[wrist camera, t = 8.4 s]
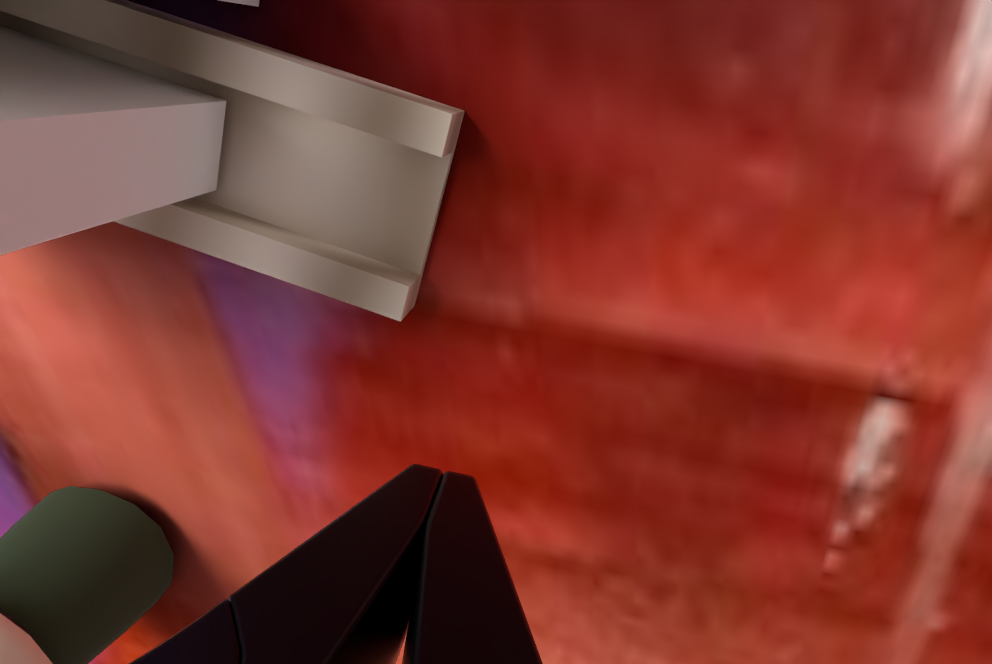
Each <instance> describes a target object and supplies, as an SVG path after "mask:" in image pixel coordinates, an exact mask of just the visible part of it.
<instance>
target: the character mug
mask: <svg viewBox="0 0 992 664" xmlns="http://www.w3.org/2000/svg"><path fill="white" fill-rule="evenodd" d="M173 563H174V554H173V552H172V550H171V548H170V546H169V544H168V541H167V539H166V537H165V535H164V533H163V531H162V528H161V527H160V526H159V525H158V524H156V523H155V522H154V521H153V520H152V519H151V518H150V517H148V516H147V515H146V514H145V513H144V512H143V511H141V510H140V509H139V508H138V507H137V506H136V505H135V504H133V503H130V502H128V501H126V500H123V499H121V498H119V497H116V496H114V495H112V494H109V493H107V492H105V491H102V490H98V489H89V488H81V487H72V486H69V487H66V488H63V489H59V490H56V491H53V492H51V493H50V494H48V495H47V496H46V497H45V498H44V499H43V500H42V501H40V502H39V503H38V504H37V505H36V506H35V507H34V508H32V509H31V510H30V511H29V512H28V513H27V514H26V515H24V516H23V517H22V518H21V519H20V520H19V521H18V522H16V523H15V524H14V525H13V526H12V527H11V528H10V529H9V530H8V531H7V532H6V533H5V534H4V535H3V536H2V537H1V538H0V664H88V663H89V662H90V661H92V660H93V659H94V658H95V657H96V656H97V655H99V654H100V653H101V652H102V651H103V650H104V649H106V648H107V647H108V646H109V645H110V644H112V643H113V642H114V641H115V640H116V639H117V638H119V637H120V636H121V635H122V634H123V633H124V632H126V631H127V630H128V629H129V628H130V627H131V626H132V625H133V624H134V623H135V622H136V621H137V620H139V619H140V618H141V617H142V616H143V615H144V614H145V613H146V612H147V611H148V610H149V609H150V608H151V607H152V606H154V605H155V604H156V603H157V601H158V600H159V599H160V597H161V596H162V595H163V594H164V592H165V591H166V590H167V588H168V587H169V586H170V585H171V583H172V574H173Z"/></svg>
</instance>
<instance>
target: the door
mask: <svg viewBox="0 0 992 664" xmlns="http://www.w3.org/2000/svg"><path fill="white" fill-rule="evenodd" d="M225 110H226V101H225V100H222V99H219V98H216V97H213V96H210V95H207V94H204V93H201V92H198V91H195V90H192V89H189V88H186V87H183V86H180V85H177V84H174V83H171V82H168V81H165V80H162V79H159V78H156V77H153V76H150V75H147V74H144V73H142V72H139V71H136V70H133V69H130V68H127V67H124V66H121V65H118V64H115V63H112V62H109V61H106V60H103V59H100V58H97V57H94V56H91V55H88V54H85V53H82V52H79V51H76V50H73V49H70V48H67V47H64V46H61V45H58V44H55V43H52V42H49V41H46V40H43V39H40V38H37V37H34V36H31V35H28V34H25V33H22V32H19V31H16V30H13V29H10V28H7V27H4V26H1V25H0V255H3V254H6V253H10V252H13V251H16V250H20V249H23V248H26V247H29V246H33V245H36V244H39V243H43V242H46V241H49V240H53V239H56V238H59V237H63V236H66V235H69V234H73V233H76V232H79V231H83V230H86V229H89V228H92V227H96V226H99V225H102V224H106V223H109V222H112V221H116V220H119V219H122V218H126V217H129V216H132V215H136V214H139V213H142V212H145V211H149V210H152V209H155V208H159V207H162V206H165V205H169V204H172V203H175V202H179V201H182V200H185V199H189V198H192V197H195V196H199V195H202V194H205V193H208V192H212V191H215V190H216V188H217V179H218V171H219V162H220V153H221V144H222V136H223V127H224V118H225Z"/></svg>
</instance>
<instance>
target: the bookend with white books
mask: <svg viewBox="0 0 992 664" xmlns="http://www.w3.org/2000/svg"><path fill="white" fill-rule="evenodd" d="M219 1H225V2H231V3H238V4H244V5H250V6H257V7H259V0H219ZM0 25H1V26H4V27H7V28H10V29H13V30H16V31H19V32H22V33H25V34H28V35H31V36H34V37H37V38H40V39H43V40H46V41H49V42H52V43H55V44H58V45H61V46H64V47H67V48H70V49H73V50H76V51H79V52H82V53H85V54H88V55H91V56H94V57H97V58H100V59H103V60H106V61H109V62H112V63H115V64H118V65H121V66H124V67H127V68H130V69H133V70H136V71H139V72H142V73H144V74H147V75H150V76H153V77H156V78H159V79H162V80H165V81H168V82H171V83H174V84H177V85H180V86H183V87H186V88H189V89H192V90H195V91H198V92H201V93H204V94H207V95H210V96H213V97H216V98H219V99H222V100H225V101H226V110H225V118H224V127H223V136H222V144H221V153H220V162H219V171H218V179H217V188H216V190H215V191H212V192H208V193H205V194H202V195H199V196H195V197H192V198H189V199H185V200H182V201H179V202H175V203H172V204H169V205H165V206H162V207H159V208H155V209H152V210H149V211H145V212H142V213H139V214H136V215H132V216H129V217H126V218H122V219H119V220H116V221H113V222H116V223H119V224H122V225H125V226H128V227H131V228H133V229H136V230H139V231H142V232H145V233H148V234H151V235H153V236H156V237H159V238H162V239H165V240H168V241H171V242H174V243H176V244H179V245H182V246H185V247H188V248H191V249H194V250H197V251H199V252H202V253H205V254H208V255H211V256H214V257H217V258H219V259H222V260H225V261H228V262H231V263H234V264H237V265H240V266H242V267H245V268H248V269H251V270H254V271H257V272H260V273H262V274H265V275H268V276H271V277H274V278H277V279H280V280H283V281H285V282H288V283H291V284H294V285H297V286H300V287H303V288H306V289H308V290H311V291H314V292H317V293H320V294H323V295H326V296H328V297H331V298H334V299H337V300H340V301H343V302H346V303H349V304H351V305H354V306H357V307H360V308H363V309H366V310H369V311H371V312H374V313H377V314H380V315H383V316H386V317H389V318H392V319H394V320H397V321H400V322H401V321H402V319H403V318H404V317H405V316H406V315H407V314H408V313H409V312H410V310H411V309H412V308H413V307H414V306H415V303H416V299H417V295H418V291H419V287H420V283H421V279H422V276H423V272H424V268H425V264H426V260H427V256H428V252H429V248H430V244H431V241H432V237H433V233H434V229H435V225H436V221H437V217H438V213H439V210H440V206H441V202H442V198H443V194H444V190H445V186H446V182H447V178H448V175H449V171H450V167H451V163H452V159H453V155H454V151H455V147H456V144H457V140H458V136H459V132H460V128H461V124H462V120H463V116H464V113H465V111H464V110H461V109H458V108H455V107H452V106H449V105H446V104H443V103H439V102H436V101H433V100H430V99H427V98H424V97H421V96H418V95H415V94H412V93H409V92H406V91H403V90H400V89H397V88H394V87H391V86H388V85H384V84H381V83H378V82H375V81H372V80H369V79H366V78H363V77H360V76H357V75H354V74H351V73H348V72H345V71H342V70H339V69H336V68H332V67H329V66H326V65H323V64H320V63H317V62H314V61H311V60H308V59H305V58H302V57H299V56H296V55H293V54H290V53H287V52H284V51H281V50H277V49H274V48H271V47H268V46H265V45H262V44H259V43H256V42H253V41H250V40H247V39H244V38H241V37H238V36H235V35H232V34H229V33H226V32H222V31H219V30H216V29H213V28H210V27H207V26H204V25H201V24H198V23H195V22H192V21H189V20H186V19H183V18H180V17H177V16H174V15H171V14H167V13H164V12H161V11H158V10H155V9H152V8H149V7H146V6H143V5H140V4H137V3H134V2H131V1H128V0H0Z"/></svg>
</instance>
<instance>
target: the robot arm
mask: <svg viewBox="0 0 992 664" xmlns="http://www.w3.org/2000/svg"><path fill="white" fill-rule="evenodd" d="M407 629H408V630H407ZM406 632H407V636H406ZM405 636H406V642H405V648H404V654H403V660H402V664H543V663H542V661H541V658H540V655H539V652H538V650H537V647H536V644H535V641H534V639H533V636H532V633H531V630H530V628H529V625H528V622H527V619H526V617H525V614H524V611H523V608H522V606H521V603H520V600H519V597H518V595H517V592H516V589H515V586H514V583H513V581H512V578H511V575H510V572H509V570H508V567H507V564H506V561H505V559H504V556H503V553H502V550H501V548H500V545H499V542H498V539H497V537H496V534H495V531H494V528H493V526H492V523H491V520H490V517H489V514H488V512H487V509H486V506H485V503H484V501H483V498H482V495H481V492H480V490H479V487H478V484H477V482H476V479H475V478H474V477H473V476H469V475H465V474H460V473H455V472H451V471H448V472H445V473H444V474H443V473H442V471H441V470H440V469H437V468H432V467H427V466H423V465H418V464H414V465H411V466H409V467H408V468H407V469H405V470H404V471H402V472H401V473H400V474H398V475H397V476H395V477H394V478H393V479H391V480H390V481H388V482H387V483H386V484H384V485H383V486H382V487H380V488H379V489H377V490H376V491H375V492H373V493H372V494H370V495H369V496H368V497H366V498H365V499H363V500H362V501H361V502H359V503H358V504H357V505H355V506H354V507H352V508H351V509H350V510H348V511H347V512H345V513H344V514H343V515H341V516H340V517H338V518H337V519H336V520H334V521H333V522H332V523H330V524H329V525H327V526H326V527H325V528H323V529H322V530H320V531H319V532H318V533H316V534H315V535H313V536H312V537H311V538H309V539H308V540H306V541H305V542H304V543H302V544H301V545H300V546H298V547H297V548H295V549H294V550H293V551H291V552H290V553H288V554H287V555H286V556H284V557H283V558H281V559H280V560H279V561H277V562H276V563H275V564H273V565H272V566H270V567H269V568H268V569H266V570H265V571H263V572H262V573H261V574H259V575H258V576H256V577H255V578H254V579H252V580H251V581H250V582H248V583H247V584H245V585H244V586H243V587H241V588H240V589H238V590H237V591H236V592H234V593H233V594H231V595H230V597H229V601H228V600H223V601H221V602H220V603H218V604H217V605H216V606H214V607H213V608H212V609H210V610H209V611H207V612H206V613H205V614H203V615H202V616H200V617H199V618H198V619H196V620H195V621H193V622H192V623H190V624H189V625H187V626H186V627H184V628H183V629H181V630H180V631H178V632H177V633H176V634H174V635H173V636H171V637H170V638H168V639H167V640H165V641H164V642H162V643H161V644H159V645H158V646H156V647H155V648H153V649H152V650H150V651H148V652H147V653H145V654H144V655H142V656H140V657H139V658H137V659H135V660H134V661H132V662H131V663H129V664H396V661H397V659H398V656H399V653H400V650H401V648H402V645H403V642H404V639H405Z"/></svg>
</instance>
